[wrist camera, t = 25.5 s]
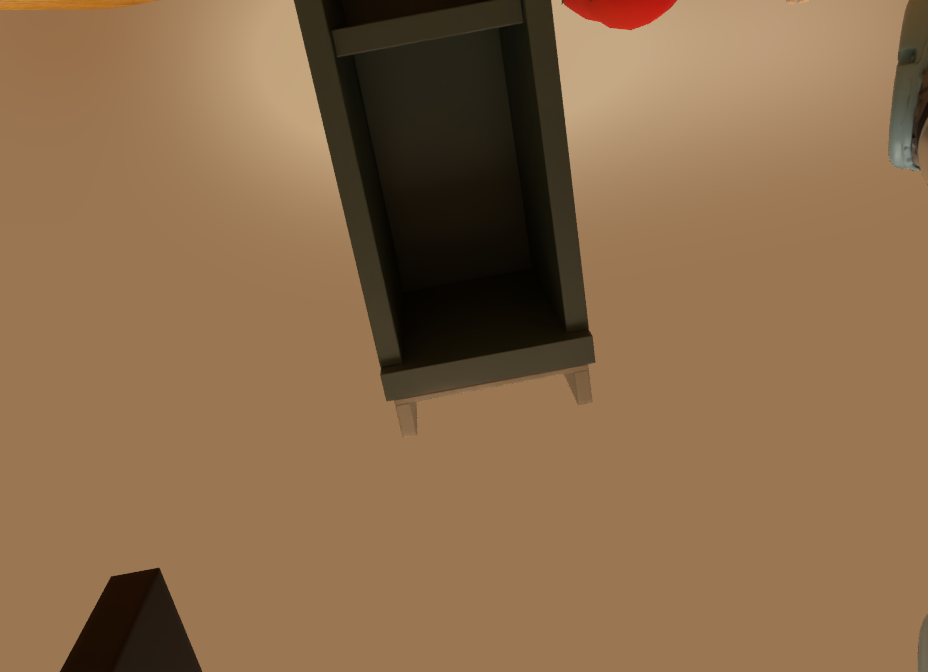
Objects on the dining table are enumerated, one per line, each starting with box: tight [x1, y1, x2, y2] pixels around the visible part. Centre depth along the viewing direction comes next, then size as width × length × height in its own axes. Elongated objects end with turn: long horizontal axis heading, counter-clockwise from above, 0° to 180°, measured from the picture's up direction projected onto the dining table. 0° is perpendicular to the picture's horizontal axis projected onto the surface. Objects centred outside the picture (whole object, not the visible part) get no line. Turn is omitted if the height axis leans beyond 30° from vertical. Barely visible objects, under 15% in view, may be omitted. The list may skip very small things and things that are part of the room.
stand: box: [294, 0, 595, 437], centre depth 53 cm, size 18×14×33 cm
